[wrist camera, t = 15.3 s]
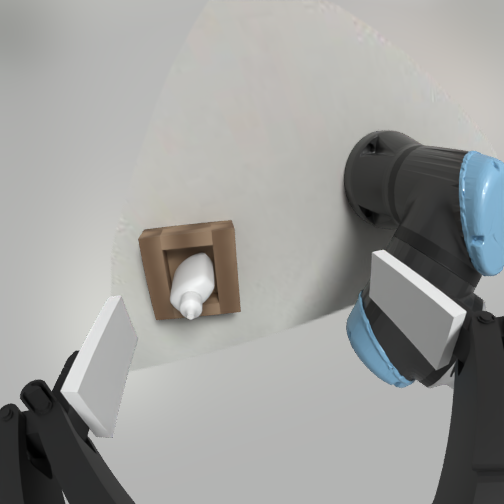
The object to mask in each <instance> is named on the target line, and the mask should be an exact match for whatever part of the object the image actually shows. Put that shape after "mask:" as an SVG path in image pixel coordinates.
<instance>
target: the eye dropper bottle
mask: <svg viewBox="0 0 504 504" xmlns="http://www.w3.org/2000/svg"><path fill="white" fill-rule="evenodd" d="M213 289H214V271H213V262H212V261H211V259H210V258H209V257H208V256H207V255H206V254H205V253H198V254H195V255H192V256H190V257H189V258H187V259H186V260H184V261H183V262H182V263H181V264H180V265H179V267H178V268H177V270H176V271H175V273H174V278H173V283H172V289H171V295H170V302H171V304H172V305H173V306H174V307H175V308H176V309H177V310H179V311H180V312H181V314H182V315H183V316H184V317H186V318H188V319H190V320H192V319H193V318H196V317H198V316H199V315H200V314H201V313H202V304H203V303H204V302H205V301H206V300H207V299H208V298H209V296H210V295H211V293H212V291H213Z"/></svg>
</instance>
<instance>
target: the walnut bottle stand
mask: <svg viewBox="0 0 504 504" xmlns="http://www.w3.org/2000/svg"><path fill="white" fill-rule="evenodd" d="M138 240H139V246H140V251H141V256H142V261H143V266H144V271H145V276H146V280H147V285H148V289H149V293H150V298H151V302H152V306H153V310H154V314H155V317H156V320H164V319H176V318H186V317H184V316H183V315H182V314H181V312H180V311H179V310H177V309H176V308H175V307H174V306H173V305H172V304H171V302H170V295H171V289H172V283H173V278H174V273H175V271H176V270H177V268H178V267H179V265H180V264H181V263H182V262H183V261H184V260H186V259H187V258H189V257H190V256H192V255H195V254H198V253H205V254H206V255H207V256H208V257H209V258H210V259H211V261H212V262H213V271H214V289H213V291H212V293H211V295H210V296H209V298H208V299H207V300H206V301H205V302H204V303H203V304H202V313H201V314H200V315H199V316H208V315H217V314H226V313H235V312H241V309H240V297H239V284H238V271H237V258H236V244H235V230H234V226H233V223H232V220H228V221H218V222H208V223H198V224H189V225H180V226H171V227H162V228H153V229H145V230H144V231H143V232H142V234H141V236H140V237H139V239H138Z"/></svg>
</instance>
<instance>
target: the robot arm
mask: <svg viewBox="0 0 504 504" xmlns="http://www.w3.org/2000/svg"><path fill="white" fill-rule="evenodd" d="M345 189H346V194H347V197H348V200H349V202H350V205H351V206H352V208H353V210H354V211H355V212H356V213H357V215H358V216H359V217H361V218H362V219H363V220H365V221H366V222H368V223H370V224H372V225H374V226H376V227H379V228H383V229H397V230H396V232H395V234H394V236H393V237H392V239H391V241H390V243H389V245H388V247H387V249H386V251H385V250H380V251H375V252H372V261H371V278H370V280H369V282H368V284H367V285H366V287H365V289H364V290H362V291H361V292H360V293H359V296H358V300H357V302H356V304H355V306H354V308H353V310H352V311H351V313H350V315H349V317H348V320H347V326H346V330H347V335H348V338H349V340H350V343H351V345H352V348H353V349H354V351H355V353H356V354H357V355H358V357H359V358H360V359H361V361H362V362H363V363H364V364H365V365H366V367H367V368H369V369H370V371H371V372H373V373H374V374H375V375H376V376H377V377H378V378H380V379H381V380H383V381H384V382H386V383H388V384H390V385H392V384H394V385H395V386H396V387H400V388H403V387H406V386H408V385H410V384H412V383H413V382H414V381H415V379H416V380H418V381H419V382H420V383H422V384H423V385H425V386H426V387H428V388H433V387H437V386H440V385H448V386H449V387H451V388H452V389H454V394H453V406H452V416H451V423H450V430H449V437H448V443H447V448H446V454H445V459H444V464H443V468H442V472H441V476H440V480H439V485H438V488H437V492H436V495H435V498H434V501H433V503H432V504H504V316H502V317H495V316H494V315H493V314H491V313H489V312H487V311H486V306H485V302H484V300H483V299H481V298H480V297H478V296H477V295H475V294H474V293H473V292H474V290H475V288H476V286H477V284H478V282H479V280H480V278H481V276H482V275H483V276H494V275H497V274H498V273H500V272H501V271H502V269H503V266H504V163H503V162H502V161H500V160H498V159H496V158H493V157H490V156H487V155H483V154H481V153H479V152H477V151H463V150H457V149H450V148H442V147H434V146H425V145H422V144H420V143H419V142H417V141H415V140H414V139H412V138H410V137H409V136H407V135H405V134H403V133H400V132H397V131H376V132H372V133H370V134H368V135H366V136H365V137H363V138H362V139H361V140H360V141H359V142H358V143H357V144H356V145H355V147H354V148H353V150H352V152H351V154H350V156H349V158H348V161H347V164H346V169H345ZM396 237H397V238H396ZM403 241H404V242H403ZM408 244H409V245H408ZM413 247H414V248H413ZM474 287H475V288H474ZM137 340H138V337H137V335H136V332H135V330H134V327H133V325H132V322H131V320H130V317H129V314H128V312H127V309H126V306H125V304H124V301H123V298H122V295H120V296H113V297H108V299H107V301H106V302H105V304H104V306H103V308H102V310H101V311H100V313H99V315H98V317H97V319H96V320H95V322H94V324H93V326H92V328H91V330H90V332H89V334H88V335H87V337H86V339H85V341H84V343H83V345H82V347H81V349H80V351H75V352H74V353H73V354H72V355H71V356H70V357H69V358H68V359H67V361H66V363H65V365H64V368H63V369H62V371H61V374H60V375H59V377H58V379H57V382H56V384H55V386H54V388H53V390H52V391H51V390H50V389H49V387H48V386H47V384H46V383H45V381H43V380H34V381H31V382H30V383H28V384H27V385H26V386H25V387H24V388H23V389H22V391H21V394H20V399H21V400H22V402H23V403H24V404H25V406H26V407H27V408H28V409H29V411H24V412H21V411H20V410H19V408H18V407H17V406H16V405H15V404H7V405H5V406H3V407H2V408H1V409H0V504H65V500H64V497H63V493H62V491H63V492H64V494H65V497H66V498H67V500H68V502H69V504H135V503H134V501H133V500H132V499H131V497H130V496H129V495H128V494H127V492H126V491H125V490H124V488H123V487H122V486H121V484H120V483H119V482H118V480H117V479H116V478H115V476H114V475H113V473H112V472H111V470H110V469H109V467H108V466H107V465H106V463H105V462H104V460H103V459H102V457H101V455H100V454H99V452H98V451H97V449H96V447H95V446H94V444H93V443H92V441H91V440H90V438H89V437H88V436H87V435H88V431H89V429H90V430H91V431H92V432H93V433H94V434H95V436H96V437H106V438H113V433H114V428H115V424H116V420H117V415H118V411H119V407H120V403H121V399H122V395H123V390H124V386H125V383H126V379H127V375H128V372H129V368H130V364H131V361H132V357H133V354H134V350H135V347H136V344H137Z"/></svg>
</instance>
